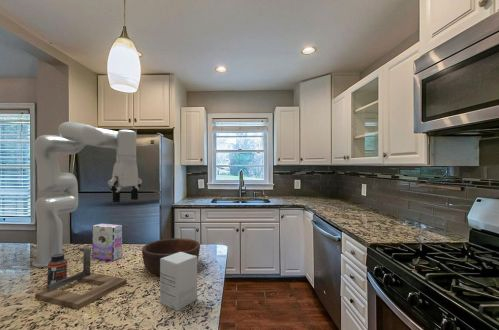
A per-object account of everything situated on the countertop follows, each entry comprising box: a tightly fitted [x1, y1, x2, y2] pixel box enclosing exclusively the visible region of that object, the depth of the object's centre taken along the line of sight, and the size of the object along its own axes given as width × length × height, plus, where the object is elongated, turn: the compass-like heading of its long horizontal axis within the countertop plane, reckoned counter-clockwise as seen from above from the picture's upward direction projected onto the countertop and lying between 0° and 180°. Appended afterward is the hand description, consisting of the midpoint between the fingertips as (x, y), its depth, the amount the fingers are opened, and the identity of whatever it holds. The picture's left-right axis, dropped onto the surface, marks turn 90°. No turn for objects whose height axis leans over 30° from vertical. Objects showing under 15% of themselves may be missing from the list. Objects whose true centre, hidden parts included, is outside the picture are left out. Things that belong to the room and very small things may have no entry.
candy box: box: [91, 223, 123, 262], centre depth 129 cm, size 14×6×16 cm, turn 71°
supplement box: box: [159, 252, 198, 311], centre depth 87 cm, size 9×9×15 cm
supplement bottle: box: [46, 253, 68, 286], centre depth 99 cm, size 6×6×11 cm
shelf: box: [34, 247, 128, 310], centre depth 95 cm, size 22×20×12 cm
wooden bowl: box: [141, 237, 201, 277], centre depth 116 cm, size 25×25×10 cm
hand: (125, 200), depth 108 cm, fingers open, 9 cm apart
